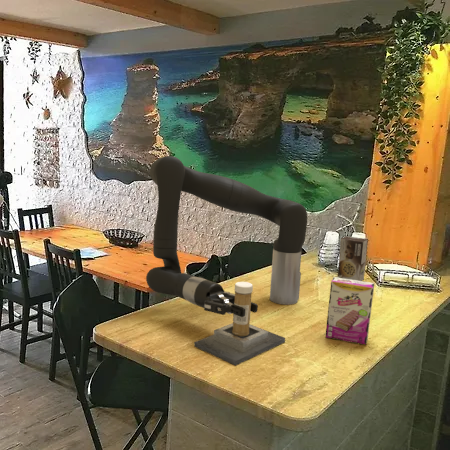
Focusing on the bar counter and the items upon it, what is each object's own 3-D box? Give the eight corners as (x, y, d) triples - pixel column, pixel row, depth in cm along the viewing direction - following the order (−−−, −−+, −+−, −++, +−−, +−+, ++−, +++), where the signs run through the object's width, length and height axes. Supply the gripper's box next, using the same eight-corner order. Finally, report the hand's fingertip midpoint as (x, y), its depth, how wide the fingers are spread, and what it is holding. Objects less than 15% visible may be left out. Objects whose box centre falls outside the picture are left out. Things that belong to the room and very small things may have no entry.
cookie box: (364, 279, 193) (368, 239, 190) (359, 283, 188) (363, 241, 185) (342, 274, 198) (345, 235, 195) (336, 278, 192) (340, 238, 189)
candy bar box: (324, 338, 135) (330, 280, 132) (327, 331, 139) (332, 276, 136) (367, 346, 131) (373, 287, 128) (368, 339, 136) (374, 282, 133)
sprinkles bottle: (251, 332, 129) (255, 283, 126) (245, 338, 125) (249, 287, 122) (235, 328, 131) (239, 279, 128) (228, 334, 126) (232, 284, 124)
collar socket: (244, 326, 140) (245, 314, 139) (285, 342, 131) (286, 329, 130) (194, 346, 125) (194, 332, 125) (235, 365, 116) (236, 351, 116)
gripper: (184, 284, 130) (232, 303, 119) (221, 275, 140) (269, 291, 129) (183, 311, 131) (230, 332, 120) (219, 300, 142) (266, 318, 130)
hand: (250, 310), depth 125 cm, fingers closed on sprinkles bottle, 4 cm apart
